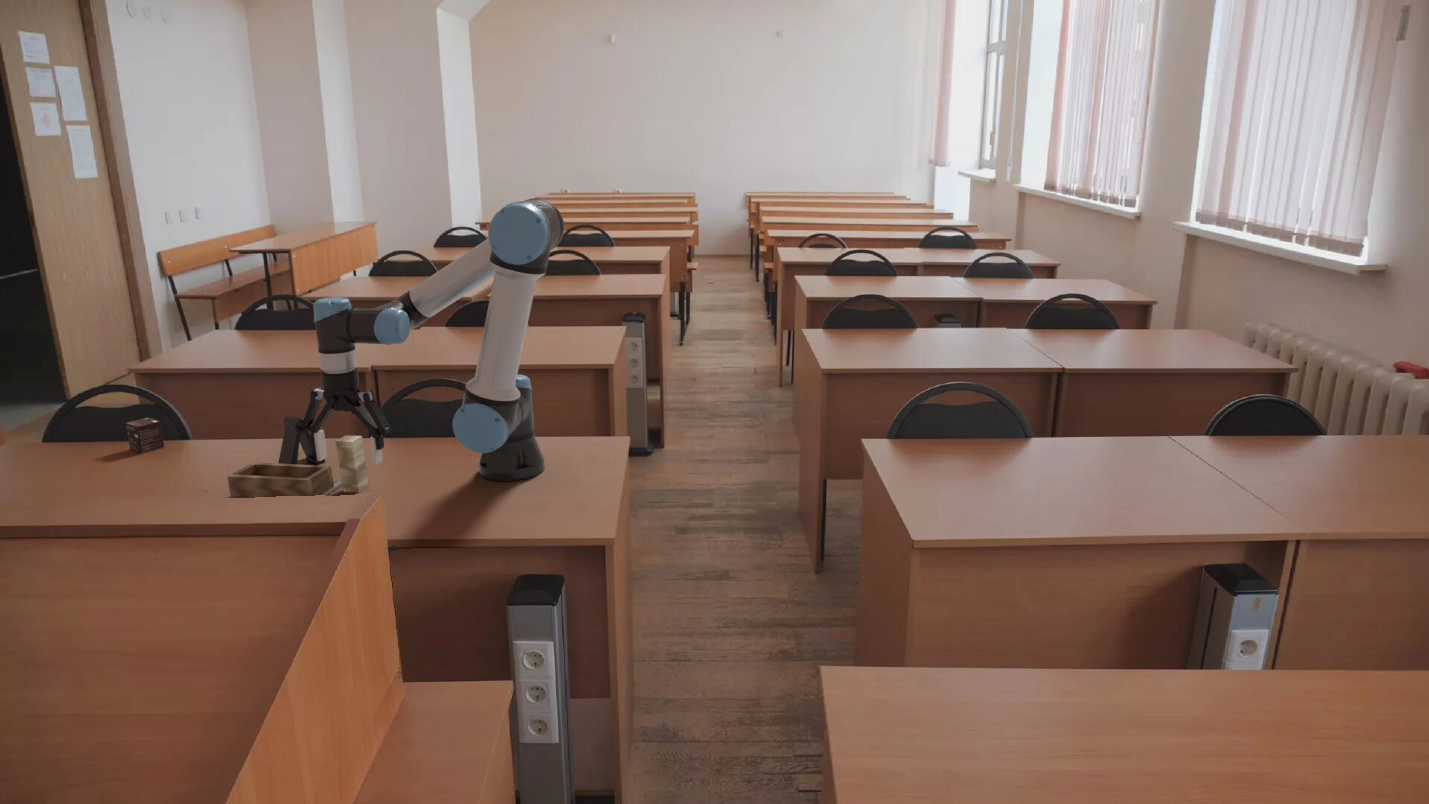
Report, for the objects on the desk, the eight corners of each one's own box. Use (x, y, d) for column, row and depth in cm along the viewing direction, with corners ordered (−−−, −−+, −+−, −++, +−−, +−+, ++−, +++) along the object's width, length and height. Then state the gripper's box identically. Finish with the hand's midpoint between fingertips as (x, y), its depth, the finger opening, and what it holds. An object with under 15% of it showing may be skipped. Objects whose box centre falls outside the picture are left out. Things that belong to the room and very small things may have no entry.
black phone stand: (289, 472, 223) (281, 424, 220) (277, 467, 227) (270, 419, 224) (325, 462, 230) (318, 415, 226) (313, 457, 234) (307, 411, 230)
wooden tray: (344, 484, 215) (341, 460, 213) (302, 512, 200) (298, 486, 198) (265, 480, 218) (262, 457, 217) (219, 507, 203) (214, 482, 202)
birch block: (368, 486, 214) (361, 436, 210) (359, 492, 210) (352, 441, 207) (352, 485, 214) (345, 435, 211) (342, 491, 211) (335, 441, 207)
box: (129, 450, 242) (124, 422, 240) (154, 443, 247) (148, 416, 245) (140, 454, 239) (135, 426, 237) (165, 447, 243) (160, 420, 241)
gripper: (400, 367, 206) (409, 458, 212) (297, 362, 210) (309, 452, 216) (383, 376, 199) (393, 470, 205) (276, 370, 203) (289, 463, 209)
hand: (350, 461), depth 210 cm, fingers open, 13 cm apart
